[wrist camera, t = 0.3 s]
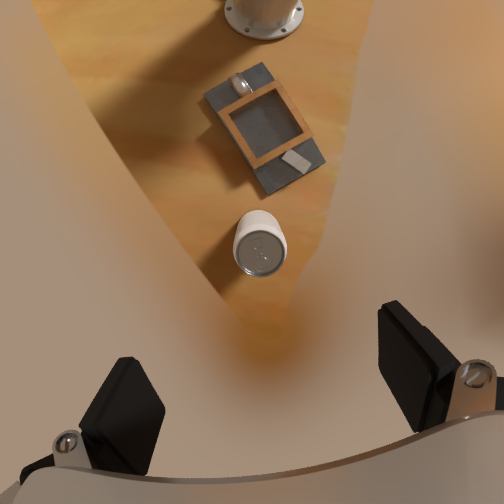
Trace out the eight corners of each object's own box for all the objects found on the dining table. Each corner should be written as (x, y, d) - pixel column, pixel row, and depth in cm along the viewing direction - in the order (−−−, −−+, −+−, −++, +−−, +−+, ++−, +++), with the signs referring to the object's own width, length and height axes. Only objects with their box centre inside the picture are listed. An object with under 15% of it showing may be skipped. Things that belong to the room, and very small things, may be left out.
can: (243, 254, 45) (240, 286, 33) (232, 215, 43) (224, 234, 31) (283, 244, 44) (294, 273, 33) (273, 204, 42) (281, 220, 31)
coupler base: (204, 96, 37) (199, 89, 33) (261, 64, 36) (262, 54, 32) (267, 194, 42) (268, 197, 38) (323, 162, 40) (331, 162, 36)
